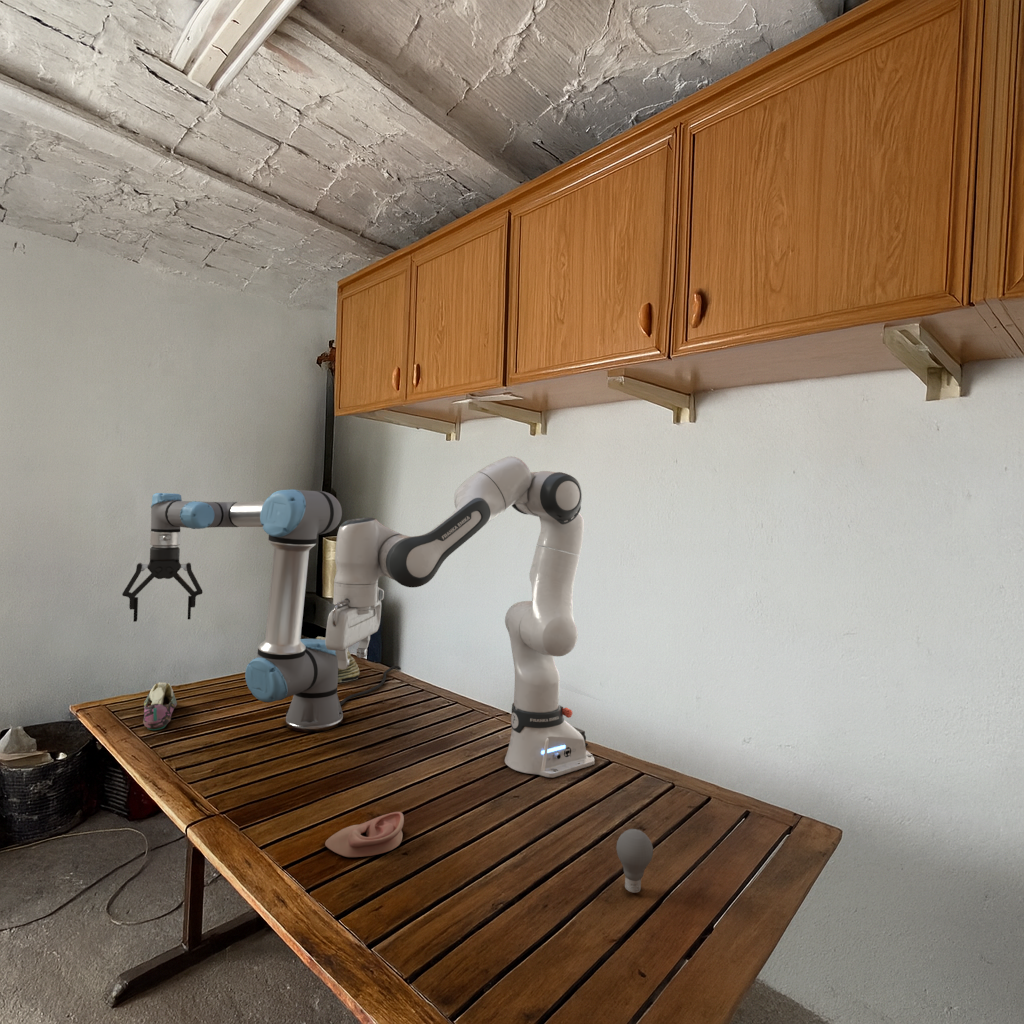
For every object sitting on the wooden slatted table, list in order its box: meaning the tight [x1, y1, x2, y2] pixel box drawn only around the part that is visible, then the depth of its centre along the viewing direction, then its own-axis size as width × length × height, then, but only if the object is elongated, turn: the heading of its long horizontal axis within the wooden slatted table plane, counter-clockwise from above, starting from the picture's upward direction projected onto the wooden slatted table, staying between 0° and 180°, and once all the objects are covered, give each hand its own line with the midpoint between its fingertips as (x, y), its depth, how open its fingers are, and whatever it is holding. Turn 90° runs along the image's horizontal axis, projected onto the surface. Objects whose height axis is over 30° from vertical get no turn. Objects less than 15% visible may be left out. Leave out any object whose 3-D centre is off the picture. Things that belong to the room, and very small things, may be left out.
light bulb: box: [615, 828, 654, 894], centre depth 106 cm, size 6×6×10 cm
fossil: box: [315, 636, 361, 683], centre depth 216 cm, size 9×18×15 cm, turn 132°
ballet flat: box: [142, 682, 178, 731], centre depth 176 cm, size 8×24×9 cm, turn 26°
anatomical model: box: [324, 811, 405, 858], centre depth 117 cm, size 13×4×12 cm
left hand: (162, 619), depth 183 cm, fingers open, 13 cm apart
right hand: (352, 662), depth 131 cm, fingers open, 8 cm apart
